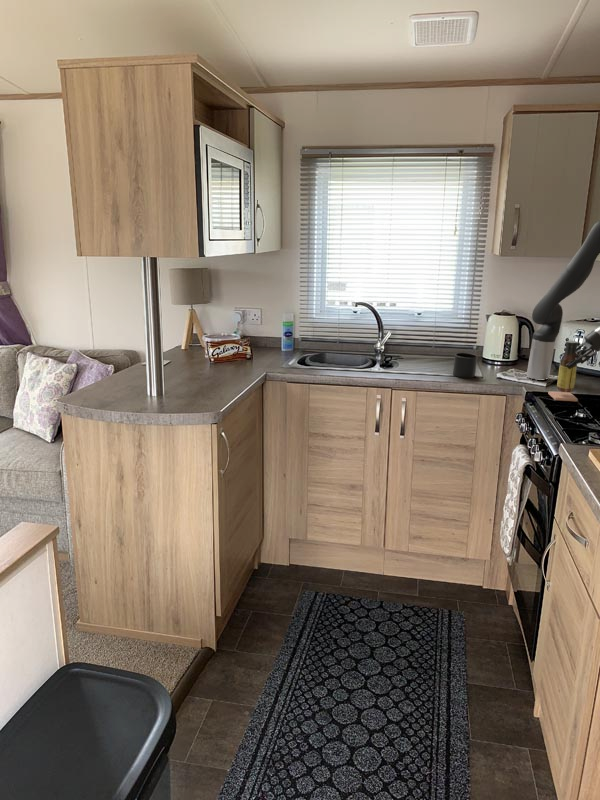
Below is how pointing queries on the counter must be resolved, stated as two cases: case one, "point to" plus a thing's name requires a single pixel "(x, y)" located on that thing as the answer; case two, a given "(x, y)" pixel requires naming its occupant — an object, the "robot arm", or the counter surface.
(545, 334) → the robot arm
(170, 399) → the counter surface
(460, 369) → the mug
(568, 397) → the coaster
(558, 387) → the sauce bottle
